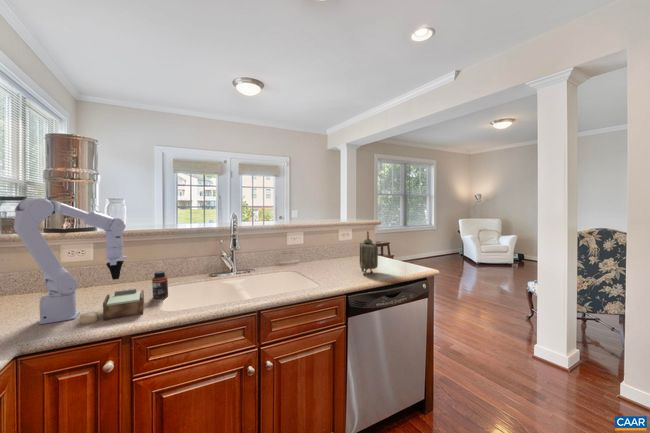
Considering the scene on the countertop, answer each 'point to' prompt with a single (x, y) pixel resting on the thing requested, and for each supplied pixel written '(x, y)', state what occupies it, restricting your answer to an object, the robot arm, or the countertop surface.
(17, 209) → the robot arm
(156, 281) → the supplement bottle
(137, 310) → the box
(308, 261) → the countertop surface
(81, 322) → the beige square block
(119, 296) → the lid
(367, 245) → the green suitcase
